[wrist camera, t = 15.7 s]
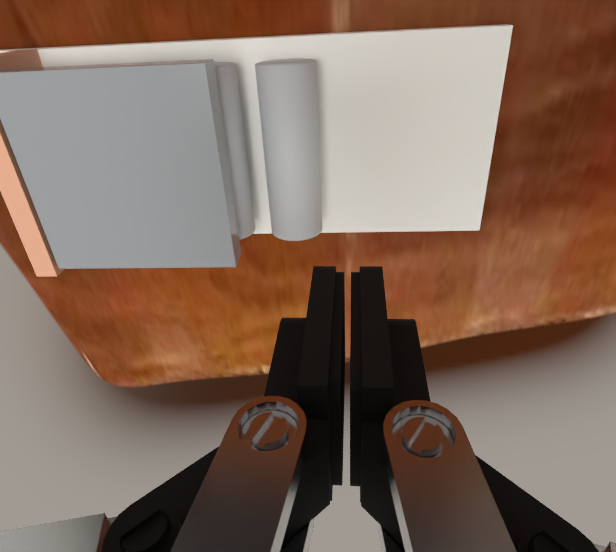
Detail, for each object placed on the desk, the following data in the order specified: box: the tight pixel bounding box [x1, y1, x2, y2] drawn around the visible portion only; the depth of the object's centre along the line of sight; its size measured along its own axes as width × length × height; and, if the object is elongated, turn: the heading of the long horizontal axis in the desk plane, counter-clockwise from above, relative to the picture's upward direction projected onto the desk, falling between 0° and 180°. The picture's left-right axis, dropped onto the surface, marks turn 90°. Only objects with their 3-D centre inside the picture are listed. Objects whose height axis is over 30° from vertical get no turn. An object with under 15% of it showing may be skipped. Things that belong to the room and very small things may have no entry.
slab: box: [0, 59, 241, 269], centre depth 23 cm, size 10×10×2 cm
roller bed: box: [0, 24, 513, 276], centre depth 24 cm, size 28×11×6 cm, turn 93°
